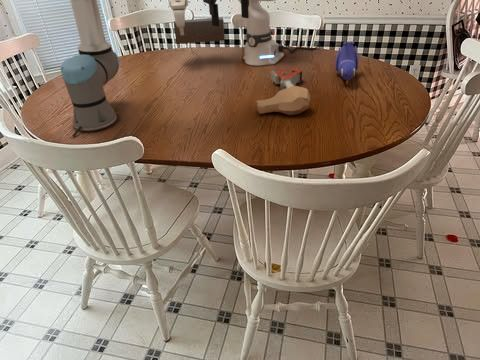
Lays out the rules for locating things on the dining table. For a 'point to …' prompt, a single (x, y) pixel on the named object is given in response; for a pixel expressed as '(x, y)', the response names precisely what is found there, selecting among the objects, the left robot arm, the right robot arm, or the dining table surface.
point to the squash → (286, 101)
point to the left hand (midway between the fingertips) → (230, 21)
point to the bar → (200, 31)
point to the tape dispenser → (287, 77)
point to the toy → (347, 61)
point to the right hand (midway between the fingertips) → (182, 33)
